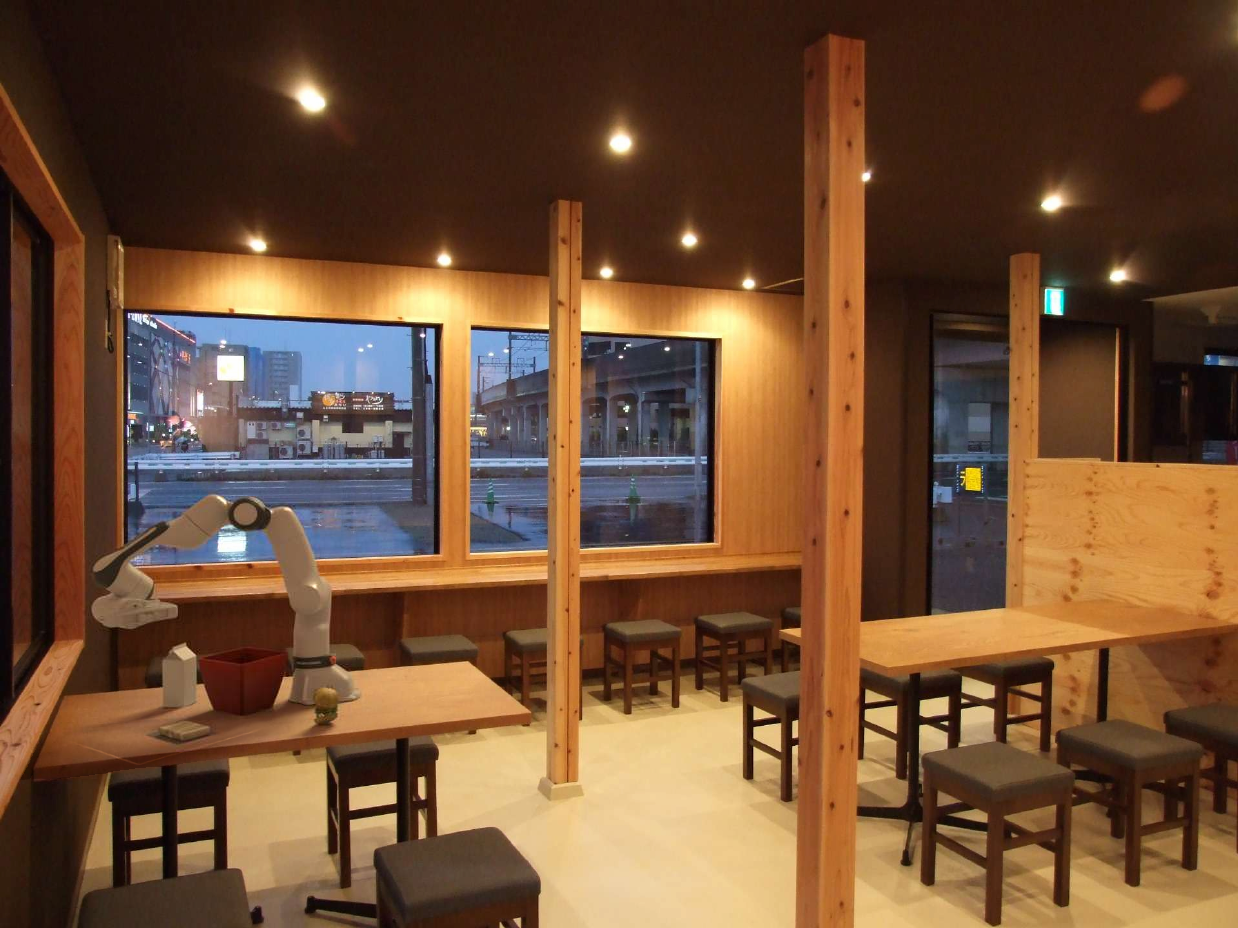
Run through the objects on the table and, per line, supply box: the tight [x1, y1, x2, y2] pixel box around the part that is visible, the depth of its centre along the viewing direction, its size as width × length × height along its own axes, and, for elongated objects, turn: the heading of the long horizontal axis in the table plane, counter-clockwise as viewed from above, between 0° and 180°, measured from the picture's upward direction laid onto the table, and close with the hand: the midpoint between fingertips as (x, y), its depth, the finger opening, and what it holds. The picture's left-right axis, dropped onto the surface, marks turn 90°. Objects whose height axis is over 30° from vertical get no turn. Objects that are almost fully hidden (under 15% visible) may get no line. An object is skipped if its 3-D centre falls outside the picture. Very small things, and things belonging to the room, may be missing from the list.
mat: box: [146, 730, 219, 745], centre depth 258 cm, size 16×12×1 cm
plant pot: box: [198, 646, 289, 716], centre depth 285 cm, size 19×19×17 cm
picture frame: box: [158, 720, 211, 741], centre depth 257 cm, size 2×8×12 cm
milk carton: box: [162, 642, 198, 709], centre depth 289 cm, size 7×7×19 cm
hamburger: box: [313, 685, 340, 725], centre depth 267 cm, size 8×7×12 cm
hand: (155, 617), depth 265 cm, fingers closed
